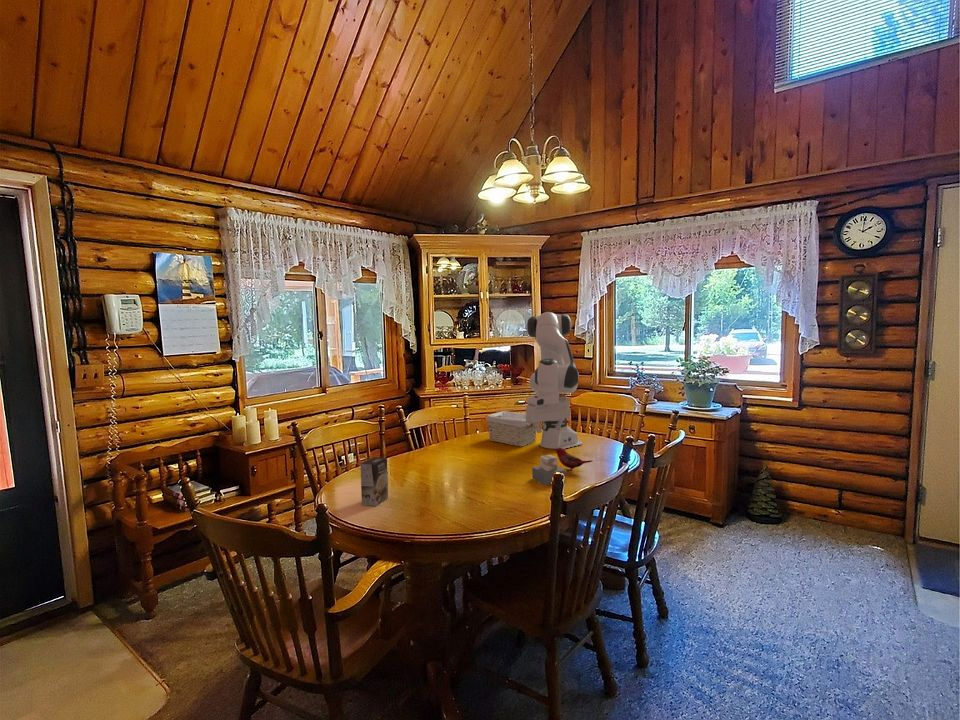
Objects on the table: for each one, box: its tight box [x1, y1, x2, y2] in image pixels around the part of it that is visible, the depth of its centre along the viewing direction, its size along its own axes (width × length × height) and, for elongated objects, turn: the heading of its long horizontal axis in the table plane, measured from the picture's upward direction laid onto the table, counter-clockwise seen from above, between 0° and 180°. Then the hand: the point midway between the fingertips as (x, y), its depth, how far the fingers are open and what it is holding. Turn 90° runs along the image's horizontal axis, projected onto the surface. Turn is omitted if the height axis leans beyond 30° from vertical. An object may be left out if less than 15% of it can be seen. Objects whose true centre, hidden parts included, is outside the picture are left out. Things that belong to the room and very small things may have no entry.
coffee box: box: [359, 456, 389, 507], centre depth 193 cm, size 9×6×16 cm
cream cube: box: [539, 454, 558, 471], centre depth 214 cm, size 5×5×5 cm
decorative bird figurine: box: [554, 448, 593, 472], centre depth 224 cm, size 3×18×10 cm, turn 59°
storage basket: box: [486, 410, 537, 447], centre depth 277 cm, size 24×16×15 cm
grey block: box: [531, 465, 566, 486], centre depth 214 cm, size 10×10×5 cm
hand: (548, 431), depth 212 cm, fingers open, 8 cm apart
